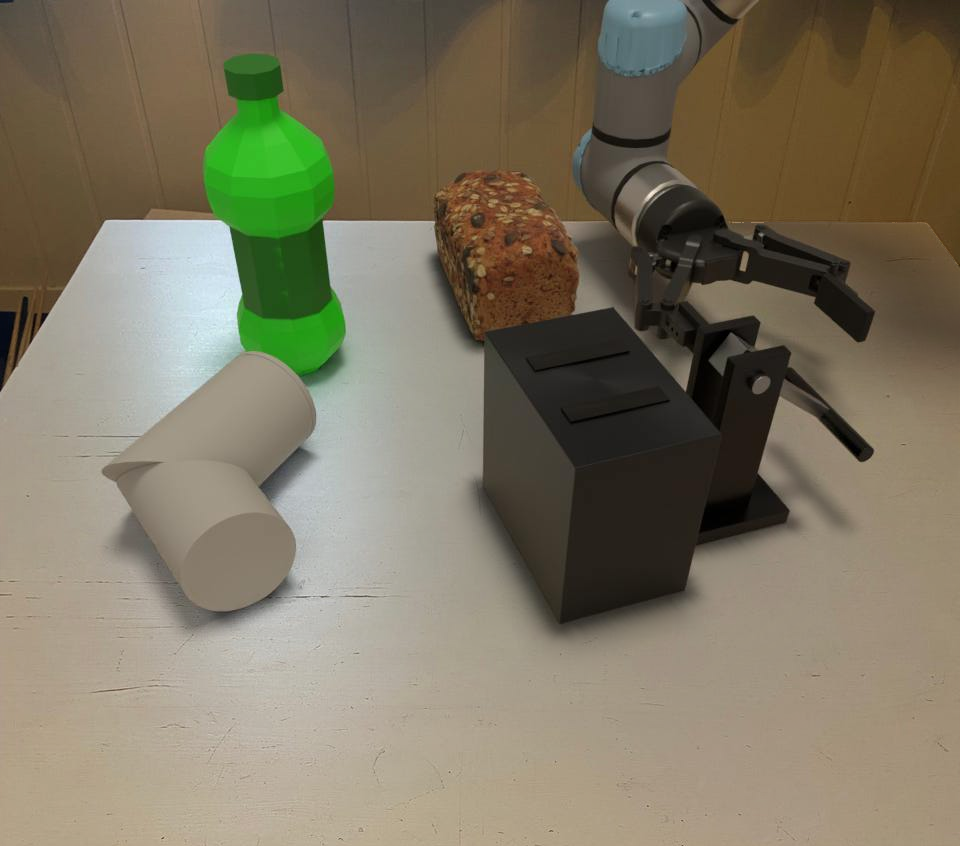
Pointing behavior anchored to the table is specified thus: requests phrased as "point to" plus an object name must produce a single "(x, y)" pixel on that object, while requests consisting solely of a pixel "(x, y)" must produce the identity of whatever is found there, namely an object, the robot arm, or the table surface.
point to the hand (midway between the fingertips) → (794, 342)
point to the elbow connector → (220, 481)
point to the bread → (504, 251)
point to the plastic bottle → (275, 219)
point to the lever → (800, 398)
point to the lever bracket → (738, 427)
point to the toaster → (594, 461)
